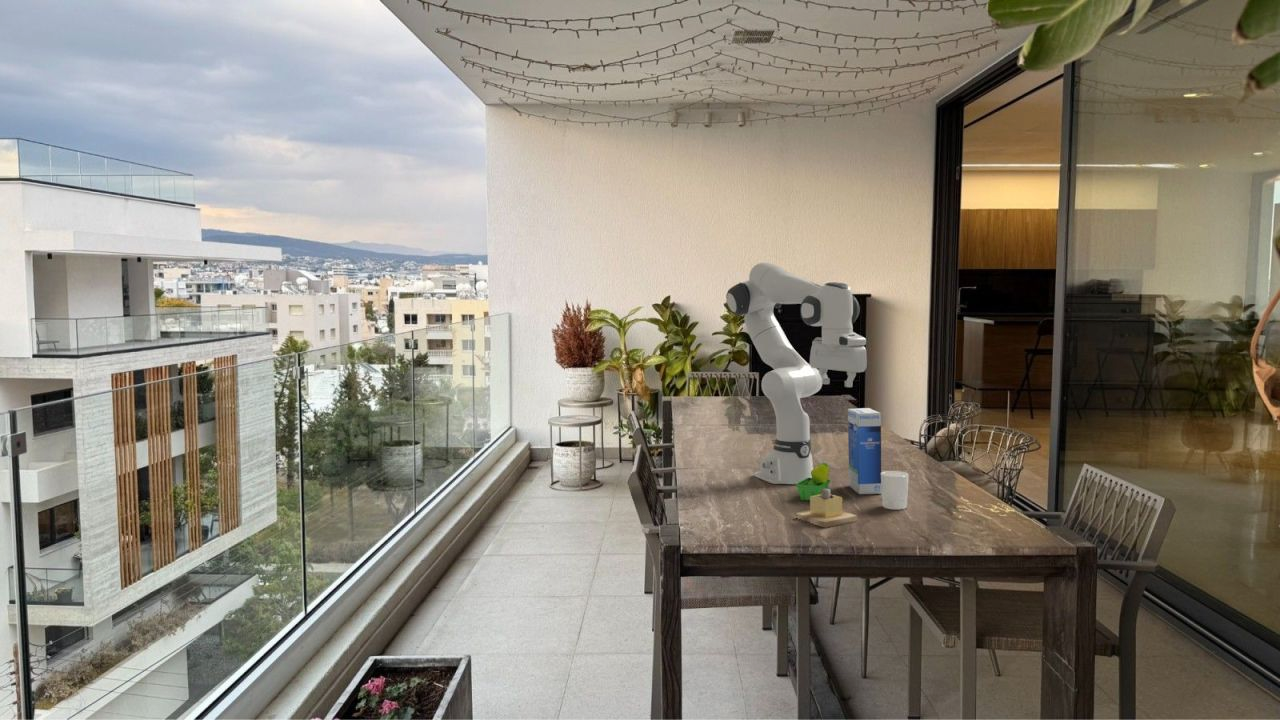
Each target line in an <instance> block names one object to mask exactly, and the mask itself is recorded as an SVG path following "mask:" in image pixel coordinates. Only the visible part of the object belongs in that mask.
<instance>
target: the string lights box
mask: <svg viewBox="0 0 1280 720" xmlns="http://www.w3.org/2000/svg"><path fill="white" fill-rule="evenodd" d="M847 428H848V432H847V433H848V438H847V439H848V440H847V441H848V486H849V487H850V488H851V489H852V490H854V491H855V492H856V493H858V495H877V494H879V495H880V494H881V495H882V490H881V472H882V412H879V411H877V410H874V409H872V408H871V407H862V408H861V407H860V408H848V409H847Z"/></svg>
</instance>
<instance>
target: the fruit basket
mask: <svg viewBox="0 0 1280 720" xmlns="http://www.w3.org/2000/svg"><path fill="white" fill-rule="evenodd" d="M829 474H830V467H829V464H827V463H826V462H821V463H819V465H818V466H815V467H813V470H812V471H811V476H812V478H806V479H805V480H803V481H801V482H799V483H797V484H795V485H796V488H797V489H798V490H797V491H798V494H799V497H800V500H801V501H807V500H809V501H808V502H810V496H814V495H819V494H822V489H829V485H830V483H831V479H829V477H830V475H829Z"/></svg>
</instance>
